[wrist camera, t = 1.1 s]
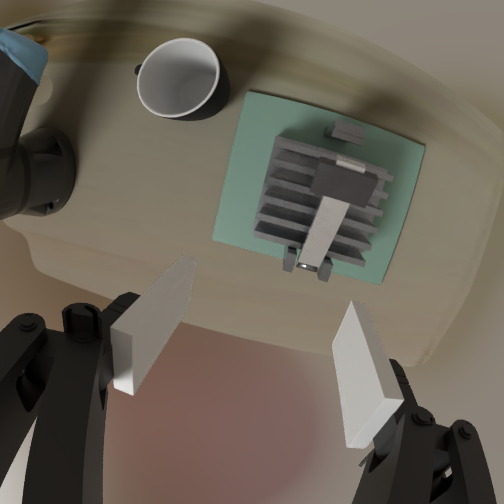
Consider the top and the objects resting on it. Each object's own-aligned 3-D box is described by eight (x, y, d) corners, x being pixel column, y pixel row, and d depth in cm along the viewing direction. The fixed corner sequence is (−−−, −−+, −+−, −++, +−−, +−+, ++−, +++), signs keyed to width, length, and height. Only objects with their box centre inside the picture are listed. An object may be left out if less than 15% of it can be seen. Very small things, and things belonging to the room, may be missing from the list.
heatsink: (250, 238, 39) (239, 262, 30) (281, 116, 33) (279, 103, 25) (351, 266, 38) (367, 296, 30) (388, 149, 33) (416, 148, 24)
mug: (249, 75, 33) (235, 49, 23) (220, 136, 36) (196, 130, 26) (170, 51, 32) (136, 27, 23) (144, 108, 35) (103, 98, 26)
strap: (284, 257, 33) (283, 266, 32) (321, 149, 22) (321, 156, 21) (327, 269, 32) (326, 278, 32) (378, 167, 22) (380, 176, 21)
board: (212, 238, 40) (211, 239, 39) (247, 91, 33) (246, 90, 33) (378, 283, 39) (380, 285, 38) (423, 146, 32) (424, 146, 32)
